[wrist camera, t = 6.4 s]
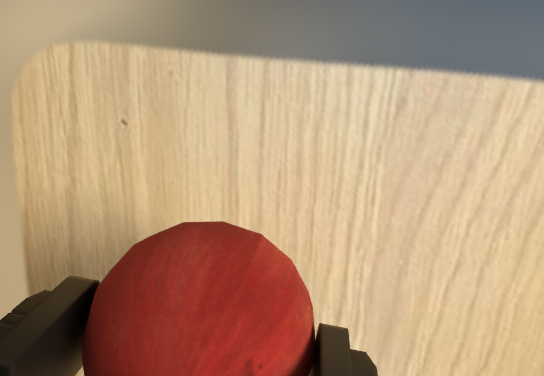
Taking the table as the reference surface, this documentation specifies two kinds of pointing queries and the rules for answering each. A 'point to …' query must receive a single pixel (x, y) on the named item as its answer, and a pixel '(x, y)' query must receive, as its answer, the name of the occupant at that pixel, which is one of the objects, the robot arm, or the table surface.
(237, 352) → the red round fruit
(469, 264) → the table surface
